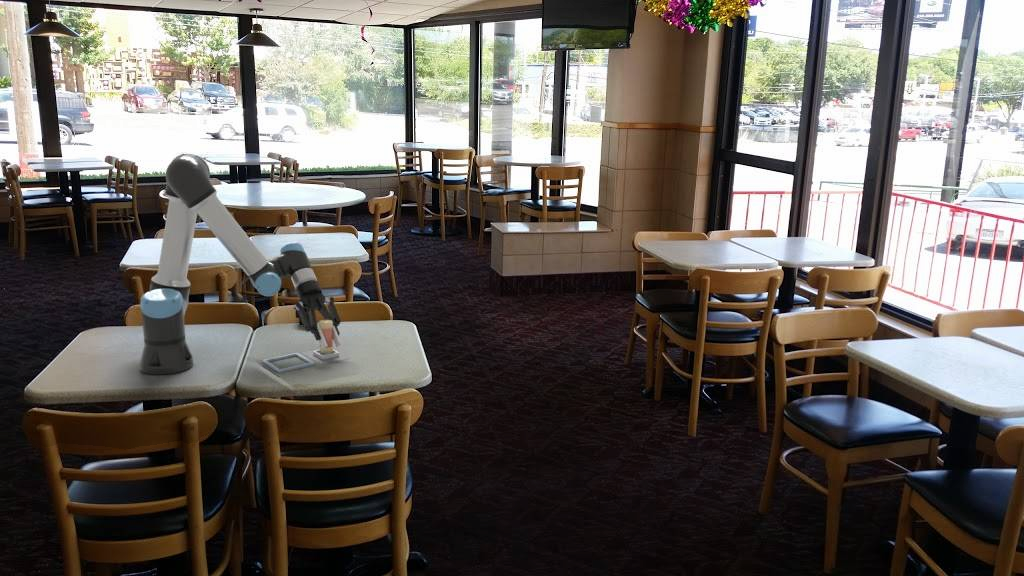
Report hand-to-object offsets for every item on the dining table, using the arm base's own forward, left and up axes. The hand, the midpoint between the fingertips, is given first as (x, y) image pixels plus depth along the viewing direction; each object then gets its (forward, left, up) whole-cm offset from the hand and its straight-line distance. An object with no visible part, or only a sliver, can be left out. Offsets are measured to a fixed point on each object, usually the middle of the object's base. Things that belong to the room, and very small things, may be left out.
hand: (332, 346), depth 250 cm
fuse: (0, +4, -3) cm, 5 cm away
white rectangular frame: (0, +4, -6) cm, 7 cm away
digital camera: (+14, +47, -6) cm, 49 cm away
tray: (-13, +4, -6) cm, 15 cm away
